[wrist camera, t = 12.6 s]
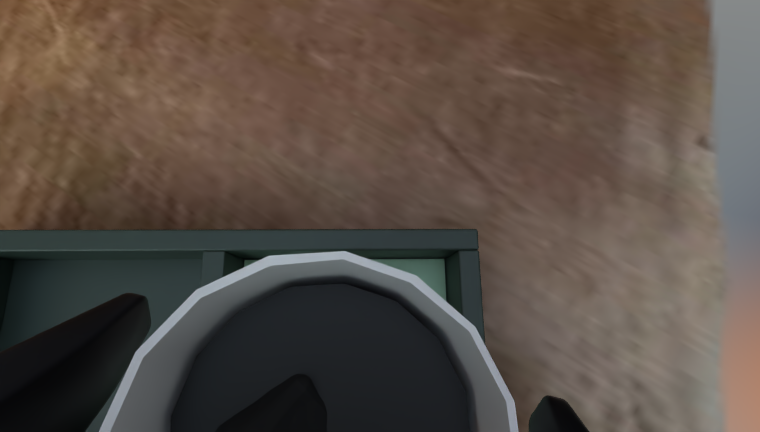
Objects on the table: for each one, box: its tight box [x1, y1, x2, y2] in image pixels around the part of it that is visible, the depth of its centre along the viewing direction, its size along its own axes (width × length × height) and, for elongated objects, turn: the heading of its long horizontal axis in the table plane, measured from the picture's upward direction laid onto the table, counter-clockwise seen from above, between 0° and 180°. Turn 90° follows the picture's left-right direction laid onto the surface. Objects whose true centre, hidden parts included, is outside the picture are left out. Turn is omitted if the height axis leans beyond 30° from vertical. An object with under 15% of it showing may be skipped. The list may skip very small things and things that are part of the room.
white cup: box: [99, 251, 518, 432], centre depth 11 cm, size 7×7×10 cm
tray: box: [0, 229, 485, 432], centre depth 15 cm, size 10×19×3 cm, turn 91°
